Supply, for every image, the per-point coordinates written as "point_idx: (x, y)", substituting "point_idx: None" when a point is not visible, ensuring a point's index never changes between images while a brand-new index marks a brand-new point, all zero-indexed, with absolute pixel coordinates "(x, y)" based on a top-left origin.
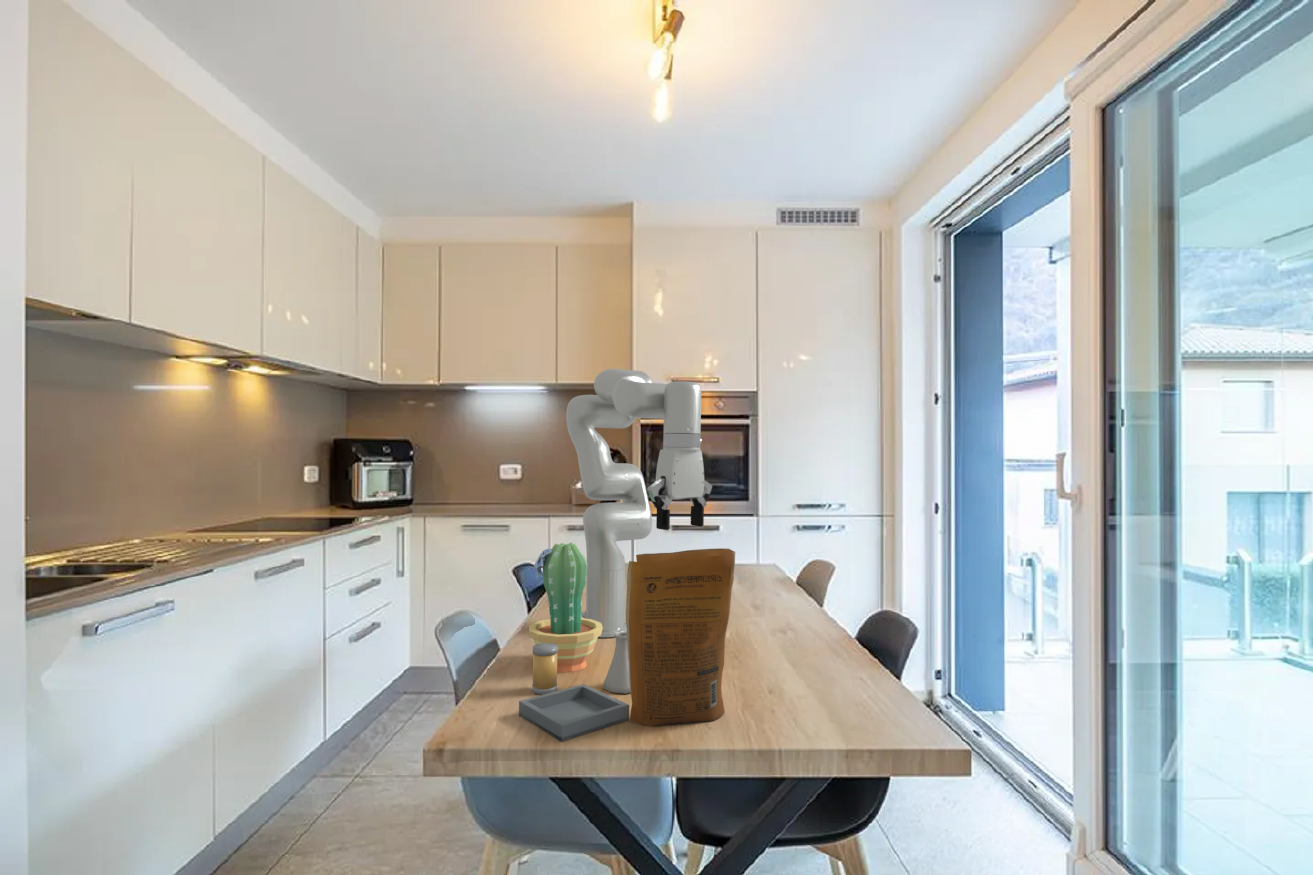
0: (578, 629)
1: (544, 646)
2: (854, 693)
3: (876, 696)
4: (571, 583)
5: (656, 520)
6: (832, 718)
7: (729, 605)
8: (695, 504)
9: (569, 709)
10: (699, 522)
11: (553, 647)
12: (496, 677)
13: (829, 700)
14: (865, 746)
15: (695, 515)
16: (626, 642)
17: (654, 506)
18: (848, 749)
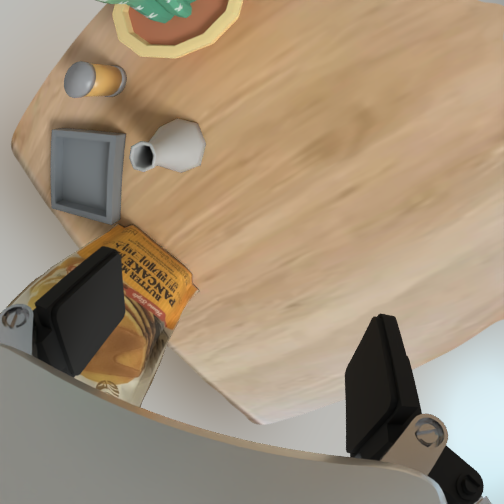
0: (181, 16)
1: (76, 78)
2: (338, 368)
3: (340, 382)
4: (104, 2)
5: (81, 263)
6: (259, 367)
7: (147, 382)
8: (378, 445)
9: (90, 158)
10: (348, 379)
11: (80, 90)
12: (111, 6)
13: (304, 357)
14: (223, 390)
15: (364, 387)
16: (145, 165)
17: (8, 311)
18: (209, 382)
